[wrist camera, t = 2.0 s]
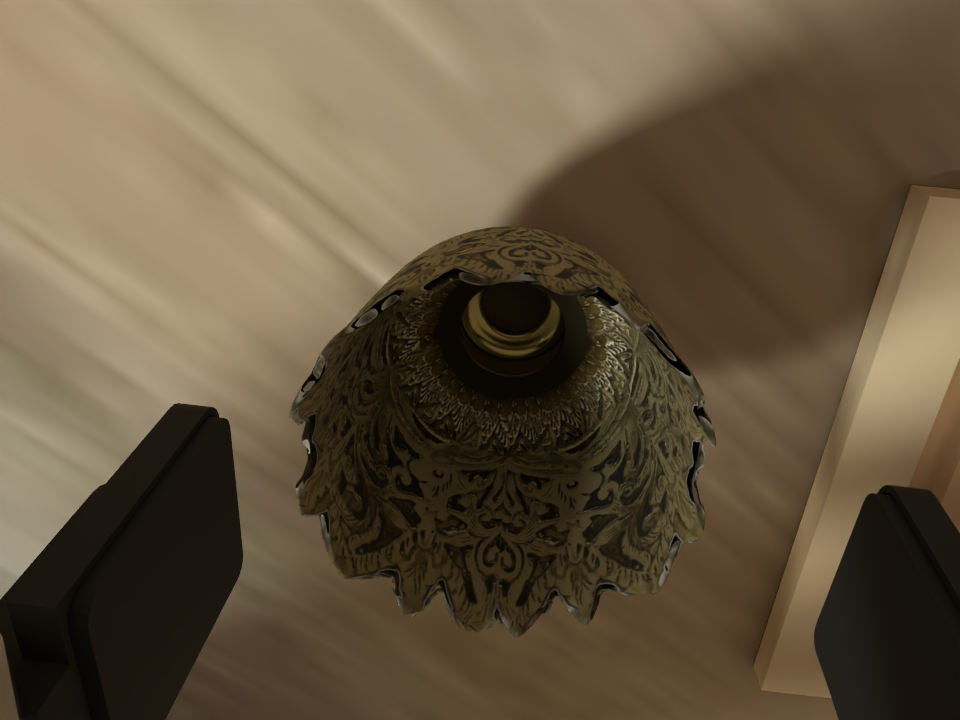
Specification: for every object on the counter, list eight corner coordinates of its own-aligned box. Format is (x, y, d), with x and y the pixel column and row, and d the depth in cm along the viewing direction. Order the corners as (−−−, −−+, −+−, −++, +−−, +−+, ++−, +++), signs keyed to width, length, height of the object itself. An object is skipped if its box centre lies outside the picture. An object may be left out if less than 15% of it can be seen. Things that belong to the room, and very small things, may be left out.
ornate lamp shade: (632, 437, 22) (672, 663, 15) (374, 411, 22) (294, 620, 15) (683, 176, 19) (767, 306, 12) (378, 147, 19) (277, 259, 12)
